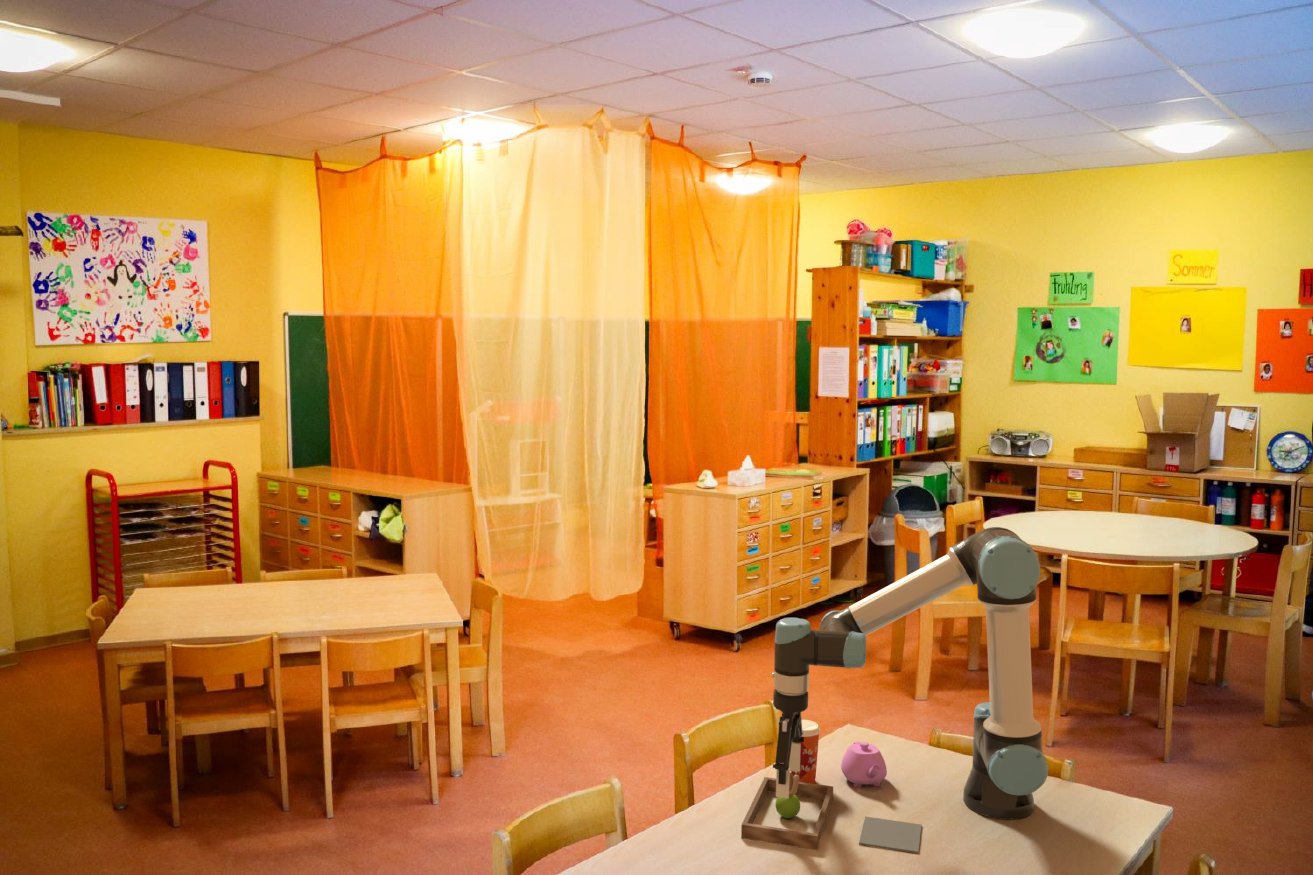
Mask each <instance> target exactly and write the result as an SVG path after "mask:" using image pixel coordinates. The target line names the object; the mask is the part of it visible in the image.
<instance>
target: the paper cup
mask: <svg viewBox="0 0 1313 875" xmlns="http://www.w3.org/2000/svg"><path fill="white" fill-rule="evenodd" d="M801 720H802V732H803V735H802V736H801V737H804V742H799V743H801V750H800V773H797V775H798V776H799V778H800V779H799V782H805V783H812V784H816V775H817V765H818V764H817V763H818V753H819V752H818V751H819V738H820V733H821V729H820V726H819V724H818V723H817V722H815V721H814V720H813V721H812V720H809V719H801ZM790 772H791V774H792V775H793V777H794V775H796V773H795V772H794V771H790Z"/></svg>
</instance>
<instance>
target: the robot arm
mask: <svg viewBox="0 0 1313 875" xmlns="http://www.w3.org/2000/svg"><path fill="white" fill-rule="evenodd" d="M1040 577H1041V565H1040V560H1039V558H1038V556H1037V554H1036V552H1035V551H1034V549H1033V547H1032V546H1030V544H1029V543H1027V542H1026V541H1025V540H1023V539H1021V538H1020V536H1019V535H1018V534H1017V533H1015V532H1014V531H1012V530H1010V529H1009V528H1005V527H1001V526H993V527H991V526H990V527H988V528H984V529H982V530H980V531H978V532H975V533H973V534H971V535H970V536H967V537H966V538H964V539H963V540H961V541H958V542H957V543H956V544H953V545H951V546H949V548H948V552H947V553H946V554H945V555H943V556H941V557H939V558H937V559H936V560H934V561H932V562H930V563H928V564H926V565H924V566H922V567H920V568H918V569H917V570H915V571H913V572H911V573H909V574H908V575H906V576H904V577H902V578H900V579H898V580H896V581H894V582H892V583H891V584H889V585H887V586H885V587H882V588H881V589H879V590H878V591H876V592H874V593H872V594H870V595H868V596H866V597H865V598H863V599H861V600H859V601H857V602H855V603H853V604H851V605H849V606H847V607H846V608H844V609H842V610H831V611H829V612H827V613H825V615H824V616H823V617H822V619H821V621H820V625H819V629H818V630H817V629H812V628H811V627H812V626H811V623H810V621H809V620H807V619H804V618H799V617H784V618H782V619H780V620H778V621H777V622H776V624H775V633H774V634H775V636H774V665H773V668H774V672H772V673H771V677H772V678H774V680H773V687H774V690H773V694H772V695H773V696H772V697H773V701H772V702H773V703H772V704H773V707H774V708H775V709H776V710H778V711H779V712H781V716H779V721H778V734H777V744H776V753H775V763H773V764H772V768H773V769H775V770H776V772H775V773H776V775H775V776H776V777H775V778H776V793H775V797H776V798H778V797H781V798H789V781H790V772H791V771H794V772H795V771H797V772H798V770H800V750H801V743H799V742H804V737H801V736H802V735H803V732H802V720H803V719H802V712H805V711H806V710H807V709H808V707H809V692H808V691H809V689H810V666H817V667H829V668H830V667H831V668H846V669H862V668H864V667H865V665H866V663H867V636H869V635H870V634H873V633H874V632H877V631H879V629H882V628H883V627H886V626H888V625H890V624H891V623H893V622H896V621H897V620H899V619H901V618H903V617H905V616H907V615H909V614H911V613H913V612H915V611H916V610H918V609H920V608H923V607H924V606H926V605H928V604H930V603H932V602H934V601H936V600H937V599H939V598H943V596H945V595H947V594H949V593H952V592H953V591H955V590H957V589H959V588H961V587H963V586H965V585H966V586H967V585H968V586H975V585H976V588H977V589H976V590H977V601H979V602H980V604H981V605H983V606H984V608H985V620H986V621H985V624H986V645H987V648H986V649H987V667H988V668H987V671H988V691H989V694H988V695H989V702H988V701H987V702H981V703H978V704H977V705H976V706H974V707H975V708H974V712H973V713H974V714H973V716H972V718H973V739H972V740H973V741H972V744H973V745H972V768H971V770H970V771H969V775H968V777H967V780H966V782H965V785H964V787H963V794H962V795H963V799H962V800H963V802H964V804H965V806H966V807H968V808H969V809H970V810H971V811H974V812H976V813H977V814H980V815H982V816H986V817H989V818H993V819H994V818H995V819H1000V820H1019V819H1024V818H1027V817H1029V816H1031V815H1032V813H1034V808H1035V807H1034V806H1035V801H1034V796H1033V793H1035V792H1036V791H1038V790H1039V789H1040V788H1041V787H1042V786H1043V785H1044V784H1045V782H1046V780H1047V779H1048V778H1047V777H1048V773H1049V767H1048V762H1047V759H1046V757H1045V755H1044V753H1043V752H1044V751H1043V737H1042V736H1043V734H1042V733H1043V732H1042V724H1041V723H1040V722H1039V721H1038V720H1036V719H1035V718H1034V702H1033V680H1032V679H1033V678H1032V677H1033V676H1032V656H1031V655H1032V654H1031V653H1032V651H1031V649H1032V648H1031V629H1030V628H1031V626H1030V608H1031V607H1032V606H1033V605H1034V604H1035V602H1036V601H1037V585H1038V583H1039V580H1040Z"/></svg>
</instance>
